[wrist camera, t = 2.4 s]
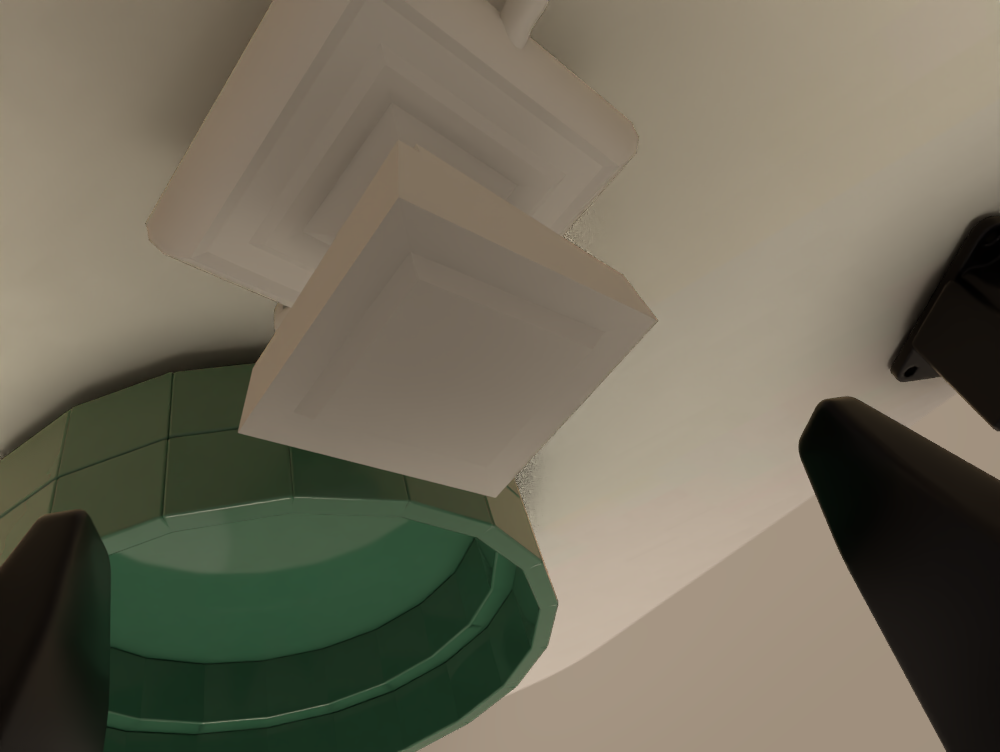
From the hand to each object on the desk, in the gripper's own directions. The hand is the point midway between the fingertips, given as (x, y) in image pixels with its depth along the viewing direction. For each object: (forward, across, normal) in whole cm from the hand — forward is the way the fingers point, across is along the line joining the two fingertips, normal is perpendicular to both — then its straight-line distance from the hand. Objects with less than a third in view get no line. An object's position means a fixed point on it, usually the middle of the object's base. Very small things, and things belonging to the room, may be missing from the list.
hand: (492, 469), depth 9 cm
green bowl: (+10, +4, +14) cm, 17 cm away
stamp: (+10, 0, 0) cm, 10 cm away
